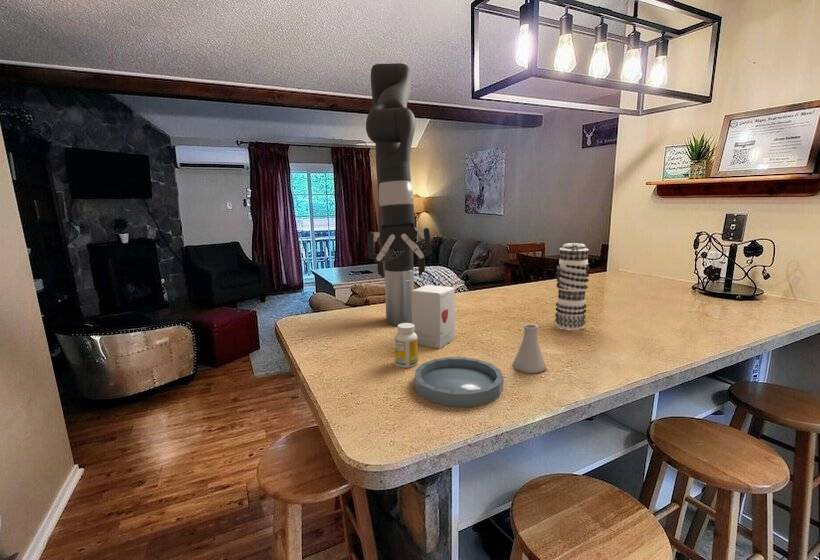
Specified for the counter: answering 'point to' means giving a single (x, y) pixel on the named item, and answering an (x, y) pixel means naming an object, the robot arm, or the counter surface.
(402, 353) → the supplement bottle
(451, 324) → the supplement box
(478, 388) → the dish
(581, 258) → the decorative candle
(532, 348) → the flask
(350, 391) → the counter surface
